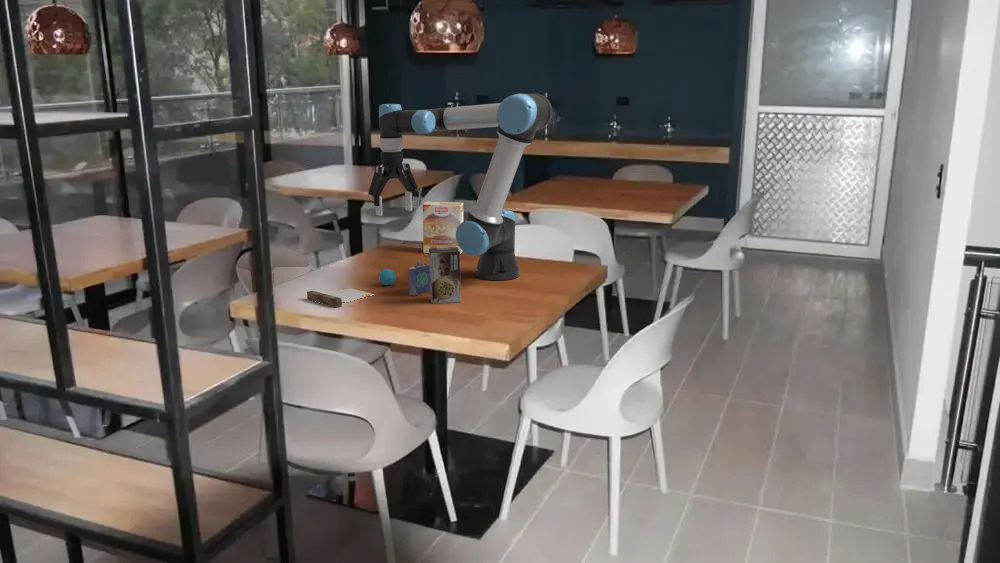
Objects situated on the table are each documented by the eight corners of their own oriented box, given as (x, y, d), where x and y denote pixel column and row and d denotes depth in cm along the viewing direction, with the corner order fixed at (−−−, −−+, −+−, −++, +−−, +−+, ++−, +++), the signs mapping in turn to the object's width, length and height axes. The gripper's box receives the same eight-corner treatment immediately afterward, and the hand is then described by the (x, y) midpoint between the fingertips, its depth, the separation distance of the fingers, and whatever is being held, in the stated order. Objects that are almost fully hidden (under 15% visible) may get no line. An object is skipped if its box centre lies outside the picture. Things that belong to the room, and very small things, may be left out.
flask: (412, 296, 255) (411, 263, 252) (406, 295, 257) (405, 262, 254) (433, 291, 262) (432, 258, 259) (426, 289, 263) (426, 257, 261)
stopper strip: (341, 306, 244) (341, 298, 243) (336, 307, 242) (336, 299, 242) (312, 298, 253) (312, 290, 252) (307, 299, 251) (306, 291, 250)
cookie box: (458, 297, 255) (458, 246, 251) (461, 302, 249) (460, 251, 245) (429, 298, 253) (428, 247, 249) (431, 303, 247) (430, 252, 243)
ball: (399, 285, 269) (399, 268, 267) (387, 288, 265) (386, 271, 263) (388, 282, 272) (387, 266, 271) (375, 285, 268) (375, 269, 267)
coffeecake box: (423, 253, 315) (422, 203, 310) (426, 249, 322) (425, 201, 317) (461, 254, 314) (460, 204, 309) (464, 251, 320) (463, 201, 316)
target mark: (374, 295, 256) (374, 294, 256) (345, 303, 247) (345, 302, 247) (349, 288, 264) (349, 288, 264) (320, 296, 255) (320, 295, 255)
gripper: (411, 147, 286) (413, 207, 291) (355, 152, 268) (358, 216, 273) (426, 148, 281) (428, 209, 286) (370, 154, 263) (373, 218, 268)
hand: (394, 213), depth 280 cm, fingers open, 13 cm apart
